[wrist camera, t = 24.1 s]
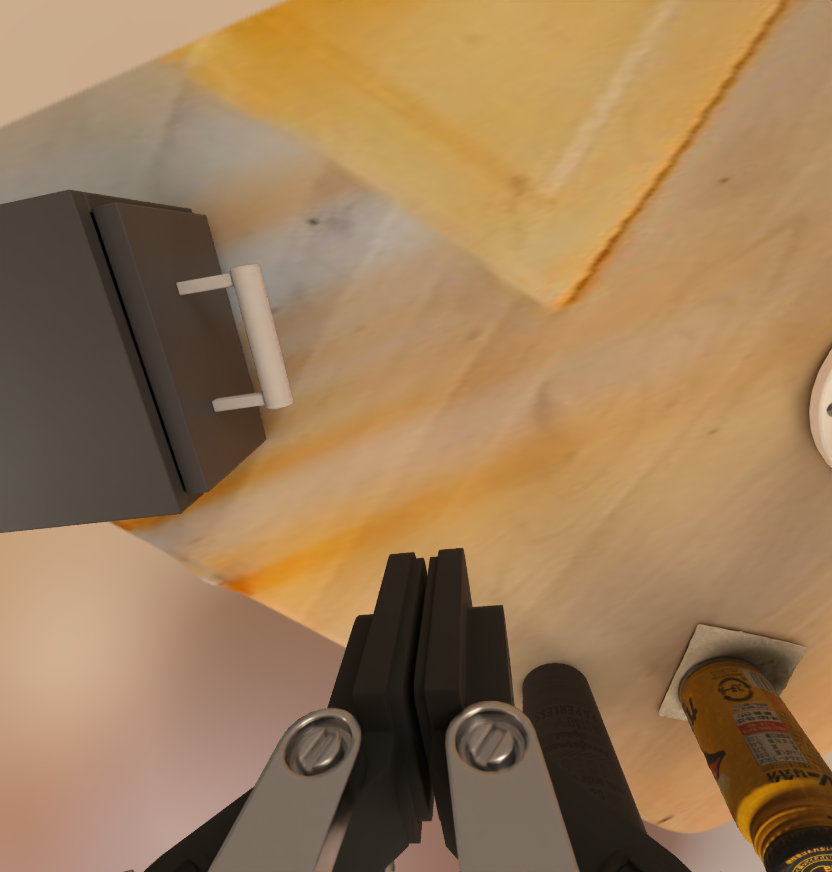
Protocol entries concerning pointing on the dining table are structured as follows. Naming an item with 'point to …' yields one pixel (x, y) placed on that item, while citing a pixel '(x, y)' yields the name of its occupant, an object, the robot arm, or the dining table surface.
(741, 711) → the condiment
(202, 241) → the drawer
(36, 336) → the cabinet
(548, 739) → the drinking cup
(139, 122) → the dining table surface
